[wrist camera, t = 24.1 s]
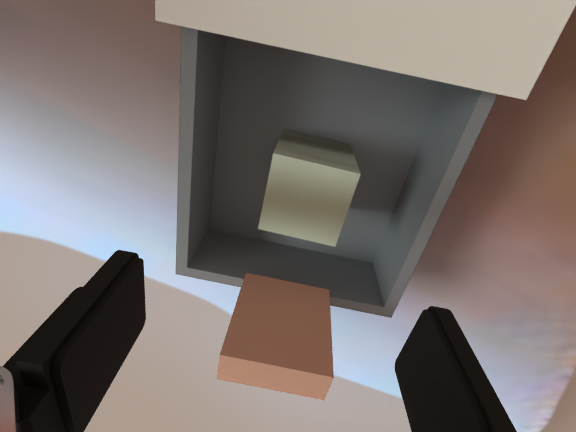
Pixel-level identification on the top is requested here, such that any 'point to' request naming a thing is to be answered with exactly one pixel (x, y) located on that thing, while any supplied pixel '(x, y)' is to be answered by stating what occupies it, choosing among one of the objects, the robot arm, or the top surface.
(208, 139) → the tray
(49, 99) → the top surface
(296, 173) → the sage block
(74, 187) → the top surface
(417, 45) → the white drawer housing
